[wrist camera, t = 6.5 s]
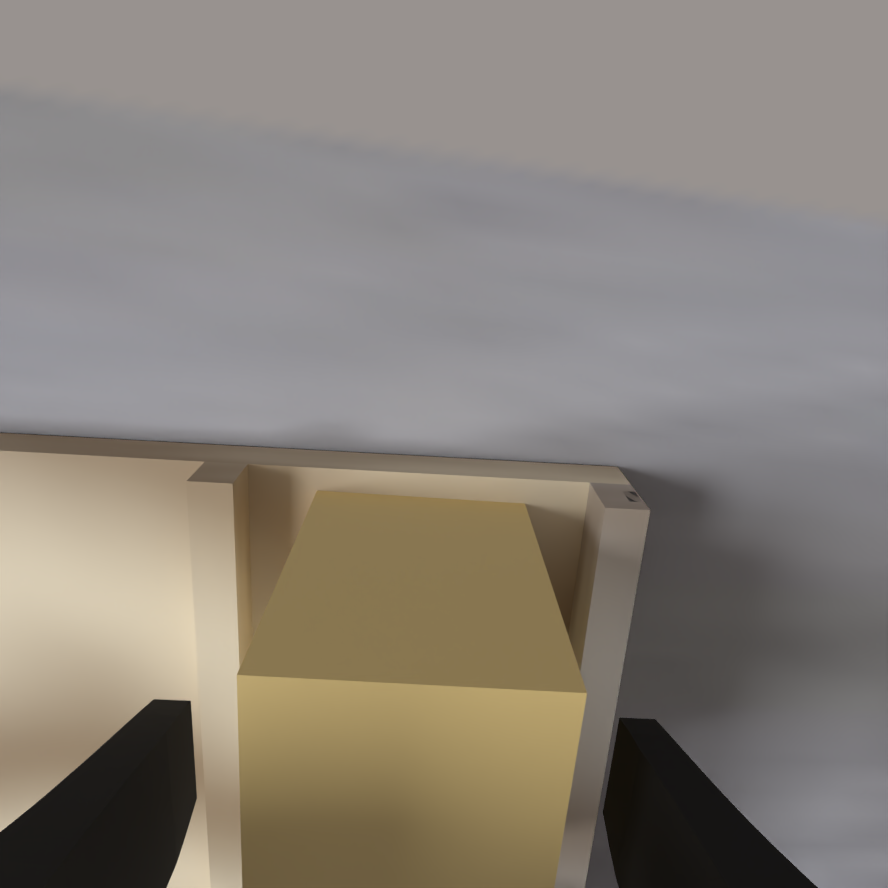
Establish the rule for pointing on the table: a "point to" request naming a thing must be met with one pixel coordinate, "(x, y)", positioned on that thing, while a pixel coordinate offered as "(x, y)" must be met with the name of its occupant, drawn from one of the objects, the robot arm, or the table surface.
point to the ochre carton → (408, 703)
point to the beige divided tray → (246, 600)
